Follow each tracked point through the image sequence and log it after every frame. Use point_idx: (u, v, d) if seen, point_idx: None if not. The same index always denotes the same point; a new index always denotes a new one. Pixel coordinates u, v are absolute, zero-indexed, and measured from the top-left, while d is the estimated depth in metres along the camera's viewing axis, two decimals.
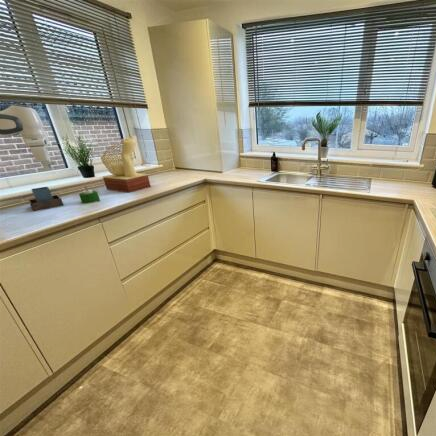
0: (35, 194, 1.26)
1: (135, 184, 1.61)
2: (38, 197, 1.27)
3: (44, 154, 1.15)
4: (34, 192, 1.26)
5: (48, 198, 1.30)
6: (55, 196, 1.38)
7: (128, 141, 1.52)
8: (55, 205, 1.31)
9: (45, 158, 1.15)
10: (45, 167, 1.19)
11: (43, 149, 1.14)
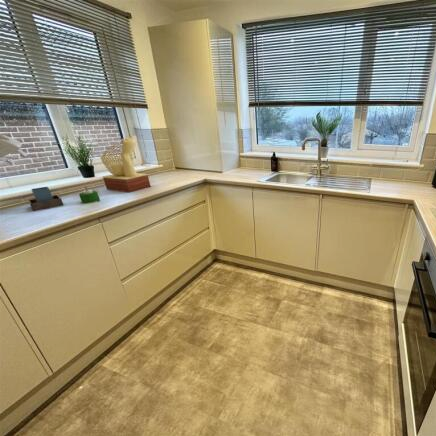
0: (35, 194, 1.26)
1: (135, 184, 1.61)
2: (38, 197, 1.27)
3: None
4: (34, 192, 1.26)
5: (48, 198, 1.30)
6: (55, 196, 1.38)
7: (128, 141, 1.52)
8: (55, 205, 1.31)
9: None
10: None
11: None
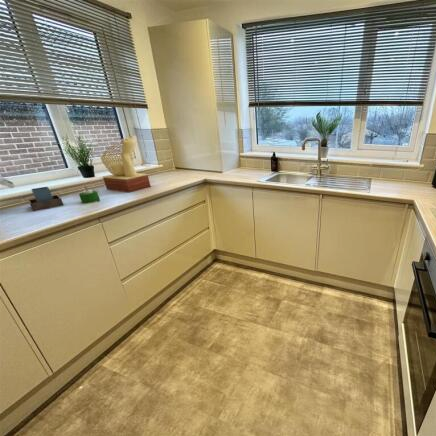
0: (35, 194, 1.26)
1: (135, 184, 1.61)
2: (38, 197, 1.27)
3: None
4: (34, 192, 1.26)
5: (48, 198, 1.30)
6: (55, 196, 1.38)
7: (128, 141, 1.52)
8: (55, 205, 1.31)
9: None
10: None
11: None
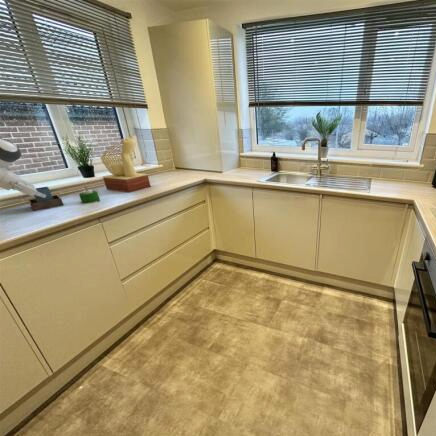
0: None
1: (135, 184, 1.61)
2: (38, 197, 1.27)
3: None
4: None
5: (48, 198, 1.30)
6: (55, 196, 1.38)
7: (128, 141, 1.52)
8: (55, 205, 1.31)
9: None
10: None
11: None
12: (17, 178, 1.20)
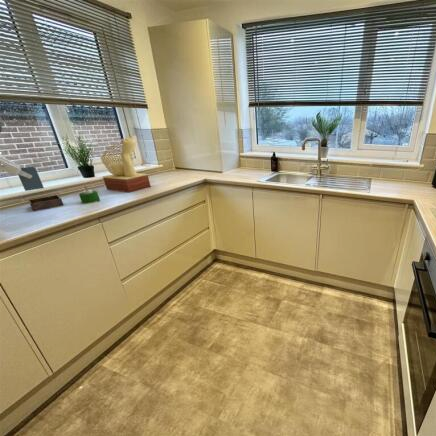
0: None
1: (135, 184, 1.61)
2: (23, 177, 1.12)
3: None
4: None
5: (35, 179, 1.15)
6: (55, 196, 1.38)
7: (128, 141, 1.52)
8: (55, 205, 1.31)
9: None
10: None
11: None
12: None
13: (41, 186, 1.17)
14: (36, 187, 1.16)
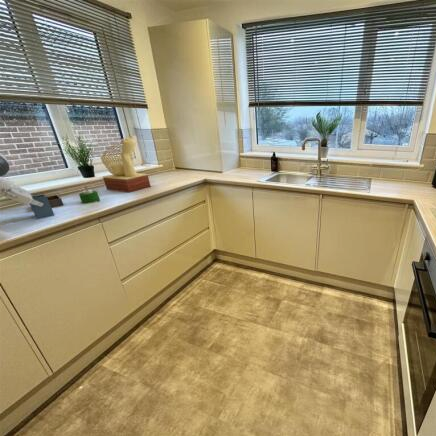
0: None
1: (135, 184, 1.61)
2: (34, 206, 1.14)
3: None
4: None
5: (46, 207, 1.17)
6: (55, 196, 1.38)
7: (128, 141, 1.52)
8: (55, 205, 1.31)
9: None
10: None
11: None
12: (10, 185, 1.07)
13: (52, 213, 1.20)
14: (47, 215, 1.18)
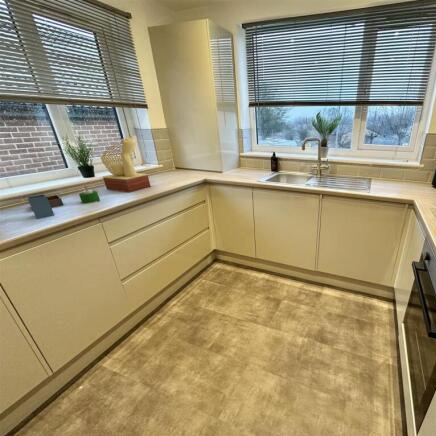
0: (31, 203, 1.13)
1: (135, 184, 1.61)
2: (34, 206, 1.14)
3: None
4: (30, 201, 1.13)
5: (46, 207, 1.17)
6: (55, 196, 1.38)
7: (128, 141, 1.52)
8: (55, 205, 1.31)
9: None
10: None
11: None
12: None
13: (52, 213, 1.20)
14: (47, 215, 1.18)
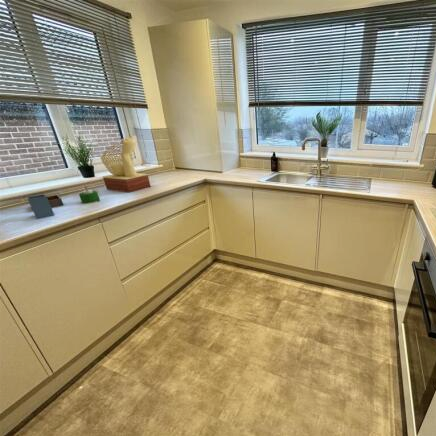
0: (31, 203, 1.13)
1: (135, 184, 1.61)
2: (34, 206, 1.14)
3: None
4: (30, 201, 1.13)
5: (46, 207, 1.17)
6: (55, 196, 1.38)
7: (128, 141, 1.52)
8: (55, 205, 1.31)
9: None
10: None
11: None
12: None
13: (52, 213, 1.20)
14: (47, 215, 1.18)
